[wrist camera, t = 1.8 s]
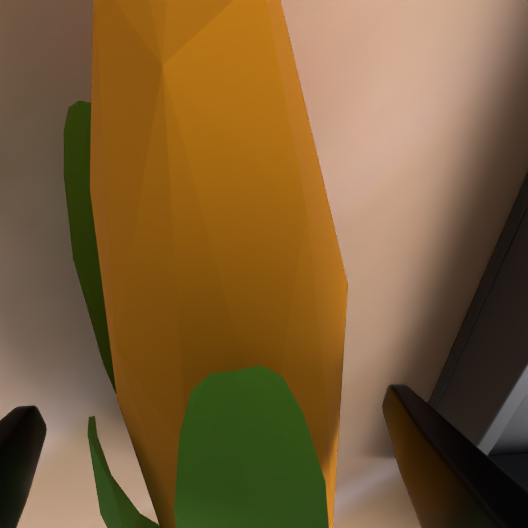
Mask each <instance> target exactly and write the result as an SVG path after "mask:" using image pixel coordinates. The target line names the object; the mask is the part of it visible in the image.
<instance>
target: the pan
mask: <svg viewBox="0 0 528 528" xmlns="http://www.w3.org/2000/svg"><path fill="white" fill-rule="evenodd" d="M429 405H430V406H431V407H432V408H433V409H434V410H436V411H437V412H438V413H439V414H440V415H441V416H442V417H444V418H445V419H446V420H447V421H448V422H449V423H450V424H452V425H453V426H454V427H455V428H456V429H457V430H458V431H460V432H461V433H462V434H463V435H464V436H465V437H466V438H468V439H469V440H470V441H471V442H472V443H473V444H474V445H475V446H477V447H478V448H479V449H480V450H481V451H482V452H483V453H485V454H486V455H487V456H488V457H489V458H490V459H491V460H493V461H494V462H495V463H496V464H497V465H498V466H499V467H501V468H502V469H503V470H504V471H505V472H506V473H507V474H509V475H510V476H511V477H512V478H513V479H514V480H515V481H517V482H518V483H519V484H520V485H521V486H522V487H523V488H525V489H526V490H527V491H528V175H527V177H526V179H525V182H524V184H523V186H522V189H521V191H520V193H519V196H518V198H517V200H516V202H515V205H514V207H513V209H512V212H511V214H510V216H509V219H508V221H507V223H506V226H505V228H504V230H503V233H502V235H501V237H500V240H499V242H498V244H497V246H496V249H495V251H494V253H493V256H492V258H491V260H490V263H489V265H488V267H487V270H486V272H485V274H484V277H483V279H482V281H481V284H480V286H479V288H478V290H477V293H476V295H475V297H474V300H473V302H472V304H471V307H470V309H469V311H468V314H467V316H466V318H465V321H464V323H463V325H462V328H461V330H460V332H459V334H458V337H457V339H456V341H455V344H454V346H453V348H452V351H451V353H450V355H449V358H448V360H447V362H446V365H445V367H444V369H443V372H442V374H441V376H440V379H439V381H438V383H437V385H436V388H435V390H434V392H433V395H432V397H431V399H430V402H429Z"/></svg>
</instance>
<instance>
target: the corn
mask: <svg viewBox="0 0 528 528" xmlns="http://www.w3.org/2000/svg"><path fill="white" fill-rule="evenodd" d="M64 180H65V189H66V198H67V206H68V215H69V224H70V233H71V242H72V251H73V259H74V263H75V266H76V270H77V273H78V277H79V280H80V284H81V287H82V291H83V294H84V298H85V301H86V304H87V308H88V311H89V315H90V318H91V322H92V325H93V329H94V332H95V336H96V339H97V343H98V346H99V350H100V353H101V357H102V360H103V364H104V366H105V369H106V371H107V374H108V376H109V378H110V381H111V383H112V386H113V388H114V390H115V393H116V395H117V400H118V403H119V406H120V409H121V412H122V415H123V418H124V421H125V424H126V427H127V430H128V432H129V435H130V438H131V441H132V444H133V447H134V450H135V453H136V456H137V459H138V462H139V465H140V468H141V471H142V474H143V477H144V480H145V483H146V486H147V489H148V492H149V495H150V498H151V501H152V504H153V507H154V510H155V513H156V516H157V519H158V522H159V525H158V524H156V523H155V522H153V521H151V520H150V519H148V518H147V517H145V516H143V515H142V514H140V513H139V512H138V510H137V509H136V508H135V506H134V505H133V504H132V502H131V501H130V499H129V498H128V497H127V495H126V494H125V493H124V491H123V490H122V489H121V487H120V486H119V485H118V483H117V482H116V481H115V479H114V478H113V477H112V475H111V473H110V470H109V467H108V465H107V462H106V459H105V456H104V453H103V451H102V448H101V445H100V442H99V440H98V437H97V429H96V421H95V416H92V417H89V424H88V439H89V445H90V451H91V458H92V464H93V470H94V476H95V482H96V489H97V495H98V501H99V507H100V513H101V516H102V518H103V520H104V522H105V524H106V526H107V528H333V517H334V501H335V485H336V468H337V452H338V436H339V420H340V404H341V388H342V372H343V355H344V339H345V323H346V307H347V291H348V283H347V279H346V274H345V270H344V266H343V262H342V258H341V253H340V249H339V245H338V241H337V236H336V232H335V228H334V224H333V220H332V215H331V211H330V207H329V203H328V199H327V194H326V190H325V186H324V182H323V177H322V173H321V169H320V165H319V161H318V156H317V152H316V148H315V144H314V140H313V135H312V131H311V127H310V123H309V118H308V114H307V110H306V106H305V102H304V97H303V93H302V89H301V85H300V81H299V76H298V72H297V68H296V64H295V60H294V55H293V51H292V47H291V43H290V38H289V34H288V30H287V26H286V22H285V17H284V13H283V9H282V5H281V1H280V0H93V21H92V85H91V103H89V102H83V101H78V102H76V103H75V104H73V105H72V106H70V107H69V109H68V114H67V119H66V124H65V129H64Z"/></svg>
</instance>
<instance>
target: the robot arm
mask: <svg viewBox="0 0 528 528" xmlns="http://www.w3.org/2000/svg"><path fill="white" fill-rule="evenodd" d="M382 409H383V414H384V418H385V421H386V425H387V428H388V432H389V435H390V439H391V443H392V446H393V450H394V453H395V457H396V460H397V464H398V467H399V470H400V473H401V476H402V478H403V481H404V484H405V486H406V489H407V491H408V494H409V496H410V499H411V502H412V504H413V507H414V509H415V512H416V514H417V517H418V520H419V522H420V525H421V527H422V528H528V491H527V490H526V489H525V488H523V487H522V486H521V485H520V484H519V483H518V482H517V481H515V480H514V479H513V478H512V477H511V476H510V475H509V474H507V473H506V472H505V471H504V470H503V469H502V468H501V467H499V466H498V465H497V464H496V463H495V462H494V461H493V460H491V459H490V458H489V457H488V456H487V455H486V454H485V453H483V452H482V451H481V450H480V449H479V448H478V447H477V446H475V445H474V444H473V443H472V442H471V441H470V440H469V439H468V438H466V437H465V436H464V435H463V434H462V433H461V432H460V431H458V430H457V429H456V428H455V427H454V426H453V425H452V424H450V423H449V422H448V421H447V420H446V419H445V418H444V417H442V416H441V415H440V414H439V413H438V412H437V411H436V410H434V409H433V408H432V407H431V406H430V405H429V404H428V403H426V402H425V401H424V400H423V399H422V398H421V397H420V396H418V395H417V394H416V393H415V392H414V391H413V390H412V389H410V388H409V387H408V386H407V385H405V384H390V385H389V386H388V388H387V391H386V394H385V397H384V400H383V404H382ZM46 430H47V428H46V424H45V422H44V420H43V418H42V416H41V414H40V412H39V410H38V408H37V407H36V406H19V407H16V408H15V409H13V410H12V411H11V412H10V413H8V414H7V415H6V416H5V417H4V418H3V419H1V420H0V528H16V527H17V524H18V522H19V519H20V517H21V514H22V512H23V509H24V506H25V504H26V501H27V498H28V495H29V492H30V488H31V485H32V481H33V478H34V474H35V471H36V468H37V464H38V461H39V457H40V454H41V450H42V447H43V443H44V440H45V436H46Z"/></svg>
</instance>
